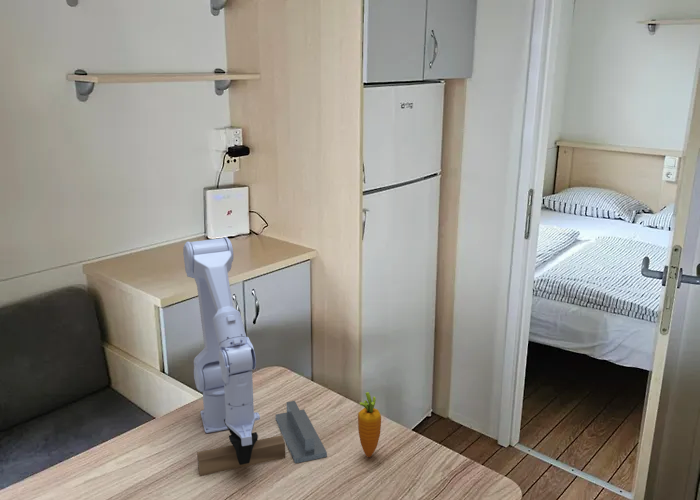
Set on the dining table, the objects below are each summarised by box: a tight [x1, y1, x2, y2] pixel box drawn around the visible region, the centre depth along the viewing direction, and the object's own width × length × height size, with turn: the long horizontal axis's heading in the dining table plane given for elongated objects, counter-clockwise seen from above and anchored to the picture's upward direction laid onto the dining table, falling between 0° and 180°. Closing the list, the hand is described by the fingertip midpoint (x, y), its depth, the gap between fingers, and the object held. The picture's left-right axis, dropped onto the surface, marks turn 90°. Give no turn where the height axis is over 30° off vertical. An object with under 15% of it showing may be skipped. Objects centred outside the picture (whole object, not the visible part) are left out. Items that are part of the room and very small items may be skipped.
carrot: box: [357, 391, 382, 458], centre depth 134 cm, size 5×5×15 cm
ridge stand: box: [275, 400, 328, 465], centre depth 143 cm, size 18×7×5 cm, turn 20°
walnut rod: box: [196, 434, 286, 477], centre depth 134 cm, size 3×18×4 cm, turn 111°
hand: (242, 456), depth 134 cm, fingers open, 4 cm apart
